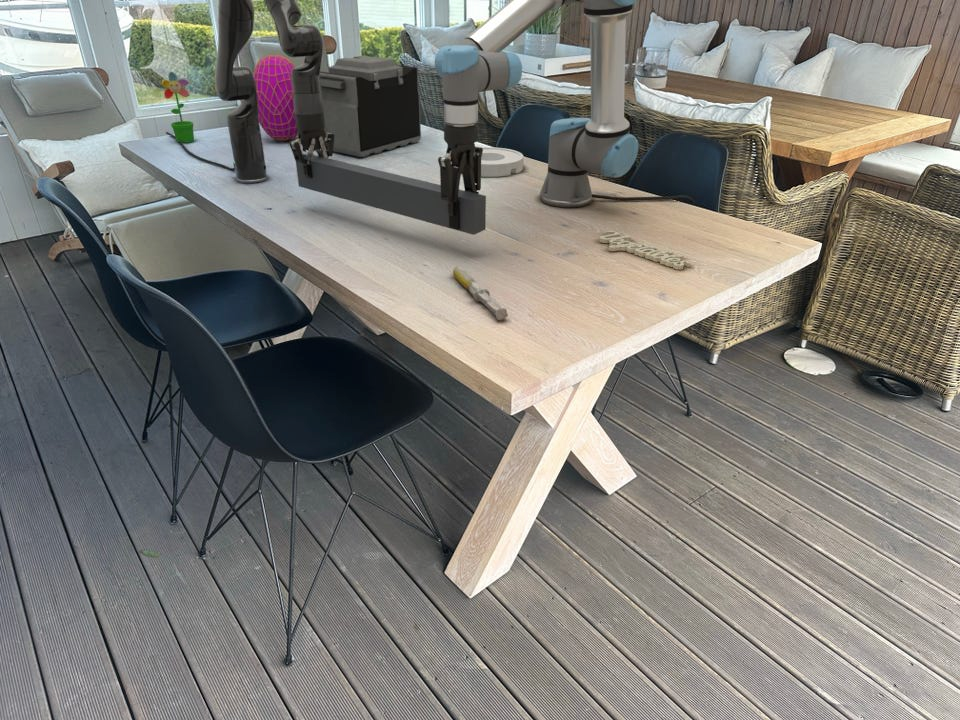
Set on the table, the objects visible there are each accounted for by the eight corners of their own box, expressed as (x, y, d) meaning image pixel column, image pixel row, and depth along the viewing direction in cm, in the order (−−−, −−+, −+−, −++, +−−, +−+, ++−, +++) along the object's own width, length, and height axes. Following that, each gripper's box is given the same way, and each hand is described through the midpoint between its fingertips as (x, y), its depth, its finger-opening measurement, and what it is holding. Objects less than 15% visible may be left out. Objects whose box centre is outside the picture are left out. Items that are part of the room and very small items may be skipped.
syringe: (449, 274, 155) (449, 263, 153) (465, 272, 156) (464, 260, 154) (490, 323, 135) (491, 310, 133) (508, 319, 136) (508, 307, 134)
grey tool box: (383, 133, 276) (378, 52, 261) (425, 141, 265) (422, 56, 250) (314, 150, 251) (304, 61, 235) (358, 160, 240) (350, 67, 224)
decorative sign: (585, 238, 173) (610, 229, 179) (584, 241, 173) (610, 233, 179) (673, 269, 156) (698, 259, 162) (672, 273, 156) (697, 262, 162)
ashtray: (457, 158, 244) (457, 146, 242) (522, 159, 243) (522, 147, 241) (452, 176, 224) (452, 163, 222) (523, 177, 223) (524, 165, 221)
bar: (485, 229, 162) (485, 195, 157) (473, 235, 159) (474, 200, 154) (311, 182, 193) (307, 153, 189) (298, 186, 190) (294, 156, 186)
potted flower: (174, 144, 256) (159, 72, 244) (172, 140, 262) (157, 69, 250) (201, 142, 260) (187, 71, 247) (197, 137, 266) (184, 68, 253)
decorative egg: (293, 132, 276) (283, 50, 261) (319, 140, 264) (310, 56, 249) (249, 139, 265) (236, 54, 250) (273, 148, 253) (261, 60, 238)
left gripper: (320, 104, 185) (326, 167, 194) (277, 112, 176) (286, 178, 184) (339, 108, 182) (345, 172, 190) (297, 116, 172) (305, 184, 180)
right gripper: (471, 114, 159) (471, 212, 171) (421, 127, 147) (425, 231, 159) (498, 118, 155) (496, 218, 167) (448, 132, 143) (450, 239, 155)
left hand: (316, 175), depth 187 cm, fingers closed on bar, 4 cm apart
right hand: (461, 224), depth 163 cm, fingers closed on bar, 4 cm apart
